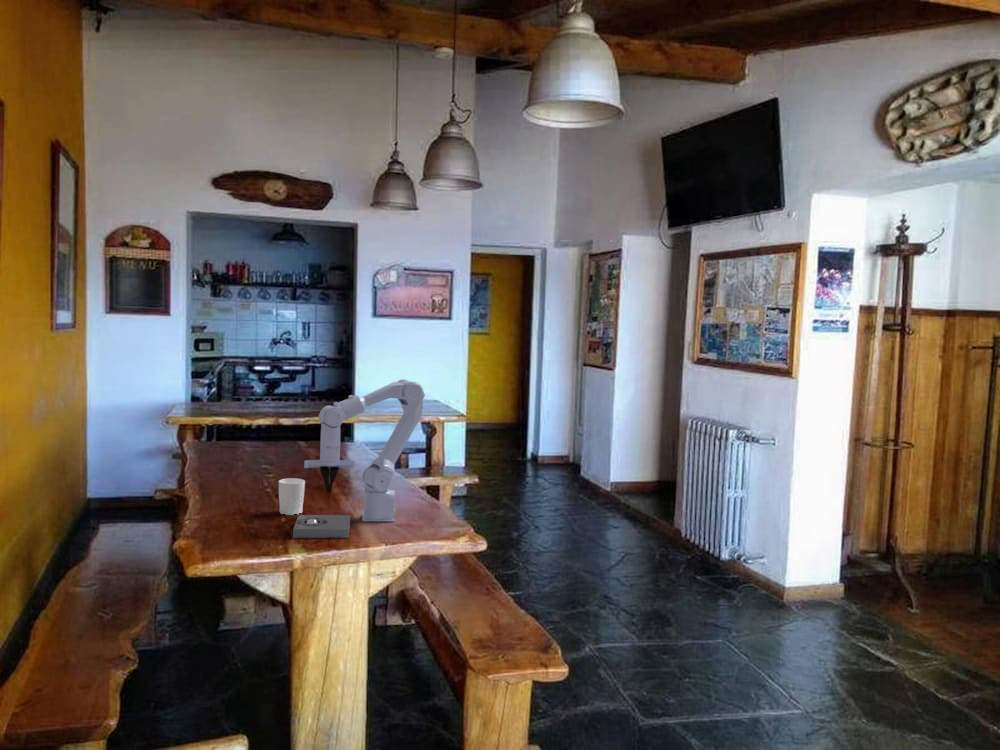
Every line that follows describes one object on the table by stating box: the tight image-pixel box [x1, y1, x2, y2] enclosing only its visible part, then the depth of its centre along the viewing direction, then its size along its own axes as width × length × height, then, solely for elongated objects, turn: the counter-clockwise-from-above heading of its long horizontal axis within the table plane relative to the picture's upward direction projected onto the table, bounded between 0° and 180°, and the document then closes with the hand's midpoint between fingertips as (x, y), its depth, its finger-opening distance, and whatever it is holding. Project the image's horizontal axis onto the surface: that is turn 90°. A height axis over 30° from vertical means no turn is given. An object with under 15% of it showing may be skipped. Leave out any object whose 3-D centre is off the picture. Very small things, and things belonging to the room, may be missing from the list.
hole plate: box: [292, 514, 351, 539], centre depth 215 cm, size 15×15×2 cm
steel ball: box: [306, 519, 318, 524], centre depth 214 cm, size 3×3×3 cm
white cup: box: [278, 477, 306, 516], centre depth 232 cm, size 8×8×10 cm
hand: (328, 491), depth 222 cm, fingers closed
